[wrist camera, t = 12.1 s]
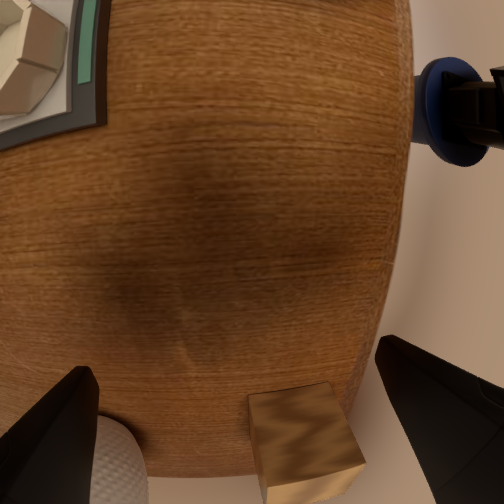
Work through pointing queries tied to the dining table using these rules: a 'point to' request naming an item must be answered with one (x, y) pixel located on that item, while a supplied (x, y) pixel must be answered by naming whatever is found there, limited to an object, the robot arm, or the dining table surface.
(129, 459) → the mug
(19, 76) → the bowl
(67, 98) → the scale
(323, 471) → the stand
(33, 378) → the dining table surface
